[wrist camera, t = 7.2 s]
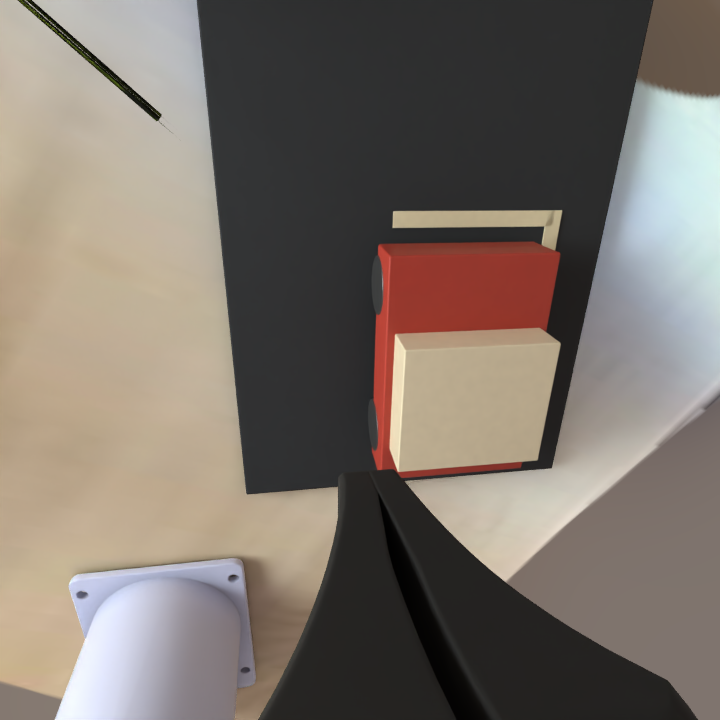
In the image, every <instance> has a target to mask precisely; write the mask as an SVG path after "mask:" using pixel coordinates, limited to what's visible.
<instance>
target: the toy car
mask: <svg viewBox="0 0 720 720" xmlns="http://www.w3.org/2000/svg"><path fill="white" fill-rule="evenodd" d="M559 260H560V253H559V252H557V251H555V250H552V249H550V248H547V247H545V246H543V245H540V244H538V243H535V242H473V243H406V244H379V245H378V255H377V256H376V257H375V258H374V261H373V267H372V299H373V305H374V309H375V312H376V335H375V368H374V398H372V399H370V401H369V406H368V426H369V435H370V441H371V445H372V453H373V457H374V460H375V463H376V467H377V470H385V469H394V470H395V471H396V472H397V473H398V474H399V475H400V477H401V478H409V477H421V476H432V475H444V474H456V473H467V472H479V471H491V470H503V469H514V468H521V465H522V462H524V461H536V460H538V455H539V450H540V445H541V440H542V435H543V430H544V426H545V421H546V416H547V411H548V406H549V401H550V396H551V391H552V386H553V381H554V376H555V371H556V366H557V361H558V356H559V351H560V346H561V343H560V342H559V341H557V340H556V339H555V338H553V337H552V336H550V335H549V334H548V333H546V330H547V325H548V319H549V314H550V309H551V303H552V298H553V292H554V287H555V282H556V276H557V271H558V265H559Z"/></svg>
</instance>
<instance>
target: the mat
mask: <svg viewBox="0 0 720 720" xmlns="http://www.w3.org/2000/svg"><path fill="white" fill-rule="evenodd" d="M652 4H653V0H197V7H198V17H199V27H200V37H201V47H202V57H203V67H204V77H205V87H206V97H207V107H208V116H209V126H210V136H211V146H212V156H213V166H214V176H215V186H216V196H217V206H218V216H219V226H220V236H221V246H222V256H223V266H224V276H225V286H226V296H227V306H228V315H229V325H230V335H231V345H232V355H233V365H234V375H235V385H236V395H237V405H238V415H239V425H240V435H241V445H242V455H243V465H244V475H245V485H246V493H247V494H258V493H269V492H281V491H292V490H304V489H316V488H327V487H338V477H339V476H340V475H341V474H342V473H346V472H359V471H372V470H377V467H376V463H375V460H374V457H373V453H372V445H371V441H370V435H369V426H368V406H369V401H370V399H372V398H374V368H375V335H376V312H375V309H374V305H373V299H372V267H373V261H374V258H375V257H376V256H377V255H378V245H379V244H406V243H473V242H535V243H538V244H540V245H543V246H545V247H547V248H550V249H552V250H555V251H557V252H559V253H560V260H559V265H558V271H557V276H556V282H555V287H554V292H553V298H552V303H551V309H550V314H549V319H548V325H547V330H546V333H548V334H549V335H550V336H552V337H553V338H555V339H556V340H557V341H559V342H560V343H561V346H560V351H559V356H558V361H557V366H556V371H555V376H554V381H553V386H552V391H551V396H550V401H549V406H548V411H547V416H546V421H545V426H544V430H543V435H542V440H541V445H540V450H539V455H538V460H536V461H524V462H522V465H521V468H514V469H503V470H491V471H479V472H467V473H456V474H444V475H432V476H421V477H409V478H402V479H403V480H404V481H408V480H420V479H432V478H443V477H455V476H466V475H478V474H490V473H501V472H513V471H524V470H536V469H548V468H552V465H553V460H554V456H555V451H556V446H557V442H558V437H559V433H560V428H561V423H562V419H563V414H564V410H565V405H566V400H567V396H568V391H569V387H570V382H571V377H572V373H573V368H574V364H575V359H576V354H577V350H578V345H579V341H580V336H581V331H582V327H583V322H584V318H585V313H586V308H587V304H588V299H589V295H590V290H591V285H592V281H593V276H594V271H595V267H596V262H597V258H598V253H599V248H600V244H601V239H602V235H603V230H604V225H605V221H606V216H607V212H608V207H609V202H610V198H611V193H612V189H613V184H614V179H615V175H616V170H617V166H618V161H619V156H620V152H621V147H622V143H623V138H624V133H625V129H626V124H627V120H628V115H629V110H630V106H631V101H632V97H633V92H634V87H635V83H636V78H637V74H638V69H639V64H640V60H641V55H642V50H643V46H644V41H645V36H646V32H647V27H648V23H649V18H650V14H651V9H652Z"/></svg>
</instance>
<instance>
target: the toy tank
mask: <svg viewBox="0 0 720 720" xmlns="http://www.w3.org/2000/svg"><path fill="white" fill-rule="evenodd" d="M18 1H19V2H20V3H21V4H23V5H24V6H25V7H26V8H27V9H28V10H29V11H31V12H32V13H33V14H34V15H35V16H36V17H37V18H39V19H40V20H41V21H42V22H43V23H44V24H46V25H47V26H48V27H49V28H50V29H51V30H52V31H54V32H55V33H56V34H57V35H58V36H59V37H60V38H62V39H63V40H64V41H65V42H66V43H67V44H68V45H70V46H71V47H72V48H73V49H74V50H75V51H77V52H78V53H79V54H80V55H81V56H82V57H83V58H85V59H86V60H87V61H88V62H89V63H90V64H91V65H93V66H94V67H95V68H96V69H97V70H98V71H99V72H101V73H102V74H103V75H104V76H105V77H106V78H108V79H109V80H110V81H111V82H112V83H113V84H114V85H116V86H117V87H118V88H119V89H120V90H121V91H122V92H124V93H125V94H126V95H127V96H128V97H129V98H130V99H132V100H133V101H134V102H135V103H136V104H137V105H139V106H140V107H141V108H142V109H143V110H144V111H145V112H147V113H148V114H149V115H150V116H151V117H152V118H153V119H155V120H156V121H158V120H160V117H161V115H162V114H160V113H159V112H158V111H157V110H156V109H155V108H154V107H152V106H151V105H150V104H149V103H148V102H147V101H146V100H144V99H143V98H142V97H141V96H140V95H139V94H138V93H137V92H135V91H134V90H133V89H132V88H131V87H130V86H129V85H127V84H126V83H125V82H124V81H123V80H122V79H121V78H119V77H118V76H117V75H116V74H115V73H114V72H113V71H112V70H110V69H109V68H108V67H107V66H106V65H105V64H104V63H102V62H101V61H100V60H99V59H98V58H97V57H96V56H94V55H93V54H92V53H91V52H90V51H89V50H88V49H87V48H85V47H84V46H83V45H82V44H81V43H80V42H79V41H77V40H76V39H75V38H74V37H73V36H72V35H71V34H69V33H68V32H67V31H66V30H65V29H64V28H63V27H62V26H60V25H59V24H58V23H57V22H56V21H55V20H54V19H52V18H51V17H50V16H49V15H48V14H47V13H46V12H44V11H43V10H42V9H41V8H40V7H39V6H38V5H37V4H35V3H34V2H33V1H32V0H27V1H28V2H29V3H30V4H31V5H32V6H34V7H35V8H36V9H37V10H38V11H39V12H40V13H41V14H39V13H38V12H37V11H36V10H35V8H34V7H31V6H30V5H29V4H28V3H27V1H26V0H18ZM25 3H26V4H27V5H26V4H25ZM33 10H34V11H35V12H34V11H33ZM42 14H43V15H44V16H45V17H46V18H47V19H48V20H49V21H48V20H46V19H45V18H44V17H43V15H42ZM41 17H42V18H43V19H42V18H41ZM50 21H51V22H52V23H53V24H54V25H55V24H56V25H55V26H56V27H54V26H53V25H52V24H51V22H50ZM49 24H50V25H51V26H50V25H49ZM59 29H60V30H61V31H62V32H63V33H64V34H62V33H61V32H60V31H59ZM57 31H58V32H57ZM68 37H69V38H70V39H71V40H72V41H71V40H69V39H68ZM65 38H66V39H65ZM76 44H77V45H78V46H79V47H80V48H79V47H77V46H76ZM73 45H74V46H73ZM82 50H83V51H82ZM84 52H86V53H87V54H88V53H89V54H88V55H87V54H86V53H84ZM89 56H90V57H91V58H90V57H89ZM92 59H93V60H92ZM94 60H95V61H96V60H97V61H96V62H95V61H94ZM97 63H98V64H99V65H98V64H97ZM100 66H101V67H100ZM102 67H103V68H104V67H105V68H104V69H103V68H102ZM105 70H106V71H107V72H106V71H105ZM111 75H112V76H111ZM113 77H114V78H115V79H114V78H113ZM116 78H117V79H116ZM121 84H122V85H123V86H122V85H121ZM124 85H125V86H124ZM127 88H128V89H127ZM129 91H130V92H131V93H130V92H129ZM133 93H134V94H133ZM135 95H136V96H135ZM137 98H138V99H139V100H138V99H137ZM141 100H142V101H141ZM143 102H144V103H143ZM149 107H150V108H151V109H152V110H153V111H152V110H151V109H150V108H149ZM157 114H158V115H159V116H160V117H159V116H158V115H157ZM161 118H162V117H161ZM159 122H160V121H159ZM163 126H164V125H163ZM164 127H165V126H164ZM166 128H167V127H166ZM171 133H172V132H171ZM179 140H180V139H179Z"/></svg>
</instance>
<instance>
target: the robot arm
mask: <svg viewBox="0 0 720 720" xmlns="http://www.w3.org/2000/svg"><path fill="white" fill-rule="evenodd" d="M231 575H237V576H231ZM69 590H70V593H71V596H72V599H73V602H74V606H75V609H76V612H77V615H78V618H79V621H80V624H81V627H82V630H83V634H84V637H85V642H84V644H83V647H82V649H81V652H80V655H79V657H78V660H77V663H76V665H75V668H74V670H73V673H72V676H71V678H70V681H69V684H68V686H67V689H66V692H65V694H64V697H63V699H62V702H61V705H60V708H59V710H58V713H57V715H56V718H55V720H235V711H236V697H237V688H243V687H249V686H251V685H253V684H254V683H255V681H256V671H255V662H254V653H253V644H252V635H251V626H250V617H249V608H248V599H247V590H246V581H245V572H244V564H243V562H242V561H241V560H240V559H237V558H229V559H219V560H209V561H200V562H190V563H180V564H171V565H161V566H152V567H142V568H132V569H123V570H113V571H104V572H94V573H84V574H78V575H75V576H74V577H73V578H72V579H71V581H70V584H69ZM82 591H84V592H82ZM258 720H698V719H697V718H696V716H695V715H694V714H693V712H692V711H691V709H690V708H689V706H688V705H687V704H686V703H685V701H684V700H683V699H682V698H681V696H680V695H679V694H678V693H677V691H676V690H675V689H674V688H673V686H672V685H671V684H670V683H669V682H668V681H667V680H666V679H664V678H662V677H660V676H658V675H656V674H654V673H652V672H650V671H648V670H646V669H644V668H643V667H641V666H639V665H637V664H635V663H633V662H631V661H629V660H627V659H625V658H623V657H621V656H619V655H617V654H615V653H613V652H612V651H609V650H608V649H606V648H604V647H603V646H601V645H599V644H598V643H596V642H594V641H592V640H591V639H589V638H587V637H586V636H584V635H582V634H581V633H579V632H577V631H575V630H574V629H572V628H570V627H569V626H567V625H566V624H564V623H563V622H561V621H559V620H558V619H556V618H555V617H553V616H552V615H550V614H549V613H548V612H546V611H544V610H543V609H541V608H540V607H539V606H537V605H536V604H534V603H533V602H531V601H530V600H529V599H527V598H526V597H524V596H523V595H522V594H520V593H519V592H517V591H516V590H515V589H513V588H512V587H511V586H509V585H508V584H507V583H506V582H504V581H503V580H502V579H501V578H499V577H498V576H497V575H496V574H494V573H493V572H492V571H491V570H490V569H488V568H487V567H486V566H485V565H484V564H483V563H482V562H480V561H479V560H478V559H477V558H476V557H475V556H474V555H473V554H472V553H471V552H469V551H468V550H467V549H466V548H465V547H464V546H463V545H462V544H461V543H460V542H459V541H458V540H457V539H456V538H455V537H454V536H453V535H452V534H451V533H450V532H449V531H448V530H447V529H446V528H445V527H444V526H443V525H442V524H441V523H440V522H439V521H438V519H437V518H436V517H435V516H434V515H433V514H432V513H431V512H430V511H429V510H428V509H427V508H426V506H425V505H424V504H423V503H422V502H421V501H420V499H419V498H418V497H417V496H416V495H415V494H414V492H413V491H412V490H411V489H410V488H409V486H408V485H407V484H406V483H405V481H404V480H403V479H402V478H401V477H400V475H399V474H398V473H397V472H396V471H395V470H394V469H385V470H372V471H359V472H346V473H342V474H341V475H340V476H339V477H338V521H337V526H336V532H335V537H334V541H333V545H332V549H331V553H330V557H329V560H328V564H327V568H326V571H325V574H324V578H323V581H322V584H321V587H320V590H319V592H318V595H317V598H316V601H315V603H314V606H313V609H312V611H311V614H310V616H309V618H308V621H307V623H306V626H305V628H304V631H303V633H302V635H301V638H300V640H299V642H298V644H297V647H296V649H295V651H294V653H293V655H292V657H291V659H290V661H289V663H288V665H287V667H286V669H285V671H284V673H283V675H282V677H281V679H280V681H279V683H278V685H277V687H276V689H275V691H274V693H273V694H272V696H271V698H270V700H269V702H268V703H267V705H266V707H265V708H264V710H263V712H262V714H261V715H260V717H259V719H258Z"/></svg>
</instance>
